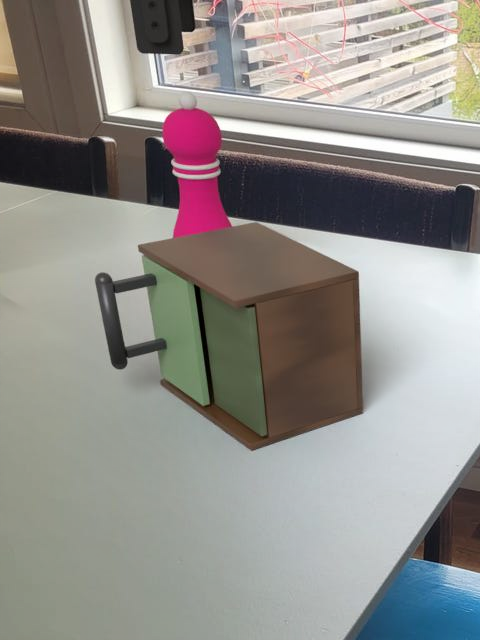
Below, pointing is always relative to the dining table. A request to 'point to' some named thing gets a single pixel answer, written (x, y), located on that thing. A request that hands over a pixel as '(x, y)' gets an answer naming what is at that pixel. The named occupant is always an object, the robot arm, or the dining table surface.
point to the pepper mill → (195, 167)
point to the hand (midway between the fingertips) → (168, 41)
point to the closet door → (159, 326)
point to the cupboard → (270, 331)
